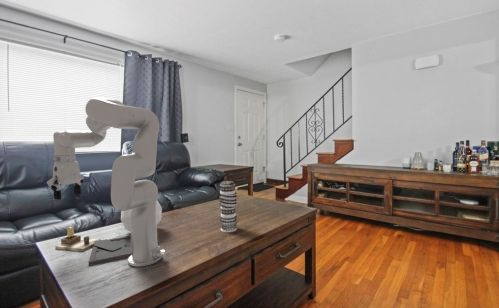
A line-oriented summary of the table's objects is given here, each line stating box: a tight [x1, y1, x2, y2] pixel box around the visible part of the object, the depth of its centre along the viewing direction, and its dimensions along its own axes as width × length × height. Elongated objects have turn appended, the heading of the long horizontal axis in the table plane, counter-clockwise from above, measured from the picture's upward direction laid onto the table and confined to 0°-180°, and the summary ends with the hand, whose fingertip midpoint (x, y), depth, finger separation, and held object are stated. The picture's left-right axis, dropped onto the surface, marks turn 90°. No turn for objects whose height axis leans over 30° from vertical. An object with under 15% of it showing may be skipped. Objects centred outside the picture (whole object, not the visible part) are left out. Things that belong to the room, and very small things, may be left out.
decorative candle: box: [218, 180, 238, 233], centre depth 130 cm, size 9×9×25 cm
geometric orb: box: [120, 200, 163, 232], centre depth 129 cm, size 19×20×20 cm
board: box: [54, 234, 102, 253], centre depth 114 cm, size 15×10×4 cm
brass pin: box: [66, 225, 75, 239], centre depth 115 cm, size 2×2×7 cm
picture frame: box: [88, 235, 132, 266], centre depth 109 cm, size 16×2×21 cm
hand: (68, 196), depth 114 cm, fingers open, 9 cm apart
